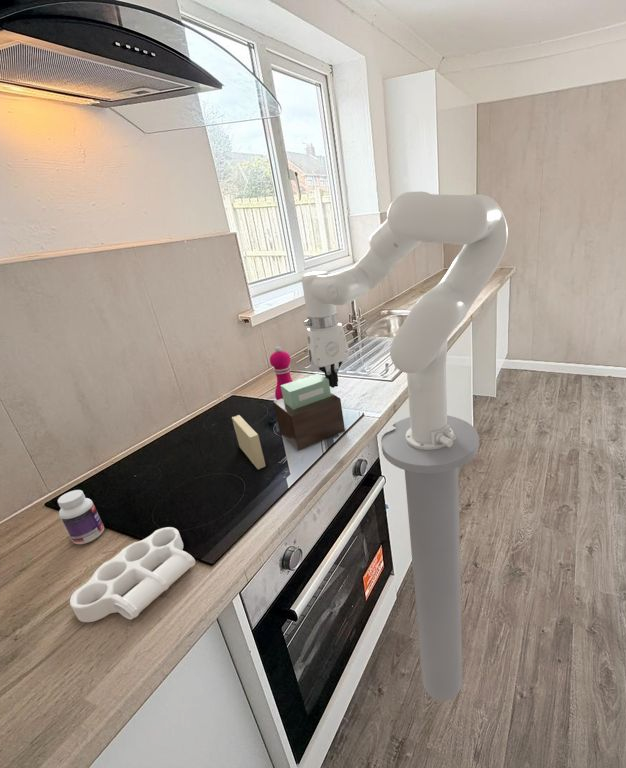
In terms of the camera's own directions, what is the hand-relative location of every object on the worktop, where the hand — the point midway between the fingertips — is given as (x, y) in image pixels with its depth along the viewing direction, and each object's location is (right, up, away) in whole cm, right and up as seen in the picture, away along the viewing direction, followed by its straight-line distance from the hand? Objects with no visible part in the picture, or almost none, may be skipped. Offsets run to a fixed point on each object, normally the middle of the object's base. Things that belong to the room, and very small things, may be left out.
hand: (332, 385), depth 114 cm
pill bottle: (-44, -30, -31) cm, 62 cm away
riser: (-6, -13, 0) cm, 14 cm away
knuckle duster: (-26, -34, -43) cm, 60 cm away
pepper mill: (-16, -7, +16) cm, 24 cm away
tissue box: (-6, -4, -4) cm, 8 cm away
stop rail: (-19, -18, -9) cm, 28 cm away
